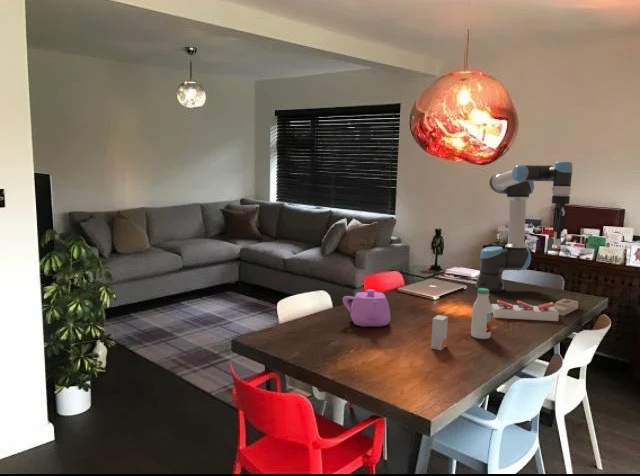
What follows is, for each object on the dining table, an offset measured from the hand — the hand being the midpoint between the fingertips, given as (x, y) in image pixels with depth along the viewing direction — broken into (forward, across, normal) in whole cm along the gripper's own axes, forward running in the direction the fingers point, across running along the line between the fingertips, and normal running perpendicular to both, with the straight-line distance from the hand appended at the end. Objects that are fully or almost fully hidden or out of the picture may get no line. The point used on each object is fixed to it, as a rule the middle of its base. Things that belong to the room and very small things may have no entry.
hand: (556, 245), depth 248 cm
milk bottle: (+33, +42, -39) cm, 66 cm away
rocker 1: (+26, +12, -24) cm, 37 cm away
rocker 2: (+26, +12, -15) cm, 32 cm away
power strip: (+32, +10, -19) cm, 39 cm away
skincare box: (+33, +58, -57) cm, 88 cm away
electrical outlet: (+33, -4, +6) cm, 34 cm away
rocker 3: (+26, +12, -6) cm, 29 cm away
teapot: (+33, +33, -85) cm, 97 cm away
